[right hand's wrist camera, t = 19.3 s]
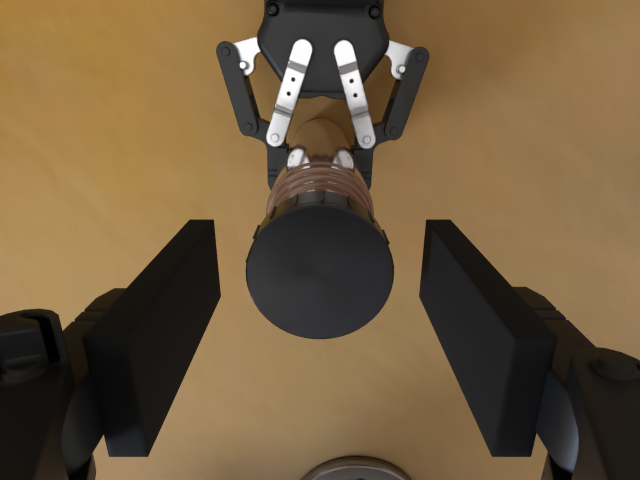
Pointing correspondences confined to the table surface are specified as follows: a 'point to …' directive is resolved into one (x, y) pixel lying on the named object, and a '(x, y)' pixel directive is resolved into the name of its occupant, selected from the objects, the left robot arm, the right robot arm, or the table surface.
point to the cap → (319, 266)
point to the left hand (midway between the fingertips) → (319, 196)
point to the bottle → (319, 166)
